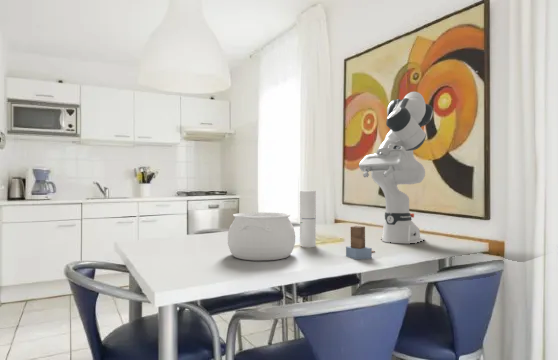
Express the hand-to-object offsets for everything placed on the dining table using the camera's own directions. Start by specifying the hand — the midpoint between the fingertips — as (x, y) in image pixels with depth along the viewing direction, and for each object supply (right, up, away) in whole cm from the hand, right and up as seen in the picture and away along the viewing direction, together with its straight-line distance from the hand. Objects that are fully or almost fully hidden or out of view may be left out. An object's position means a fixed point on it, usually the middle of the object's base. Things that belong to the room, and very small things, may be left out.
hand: (374, 176), depth 153 cm
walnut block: (-9, -28, -8) cm, 30 cm away
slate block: (-8, -32, -8) cm, 34 cm away
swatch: (-3, -31, +3) cm, 32 cm away
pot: (-46, -32, -6) cm, 56 cm away
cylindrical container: (-26, -32, +17) cm, 45 cm away
